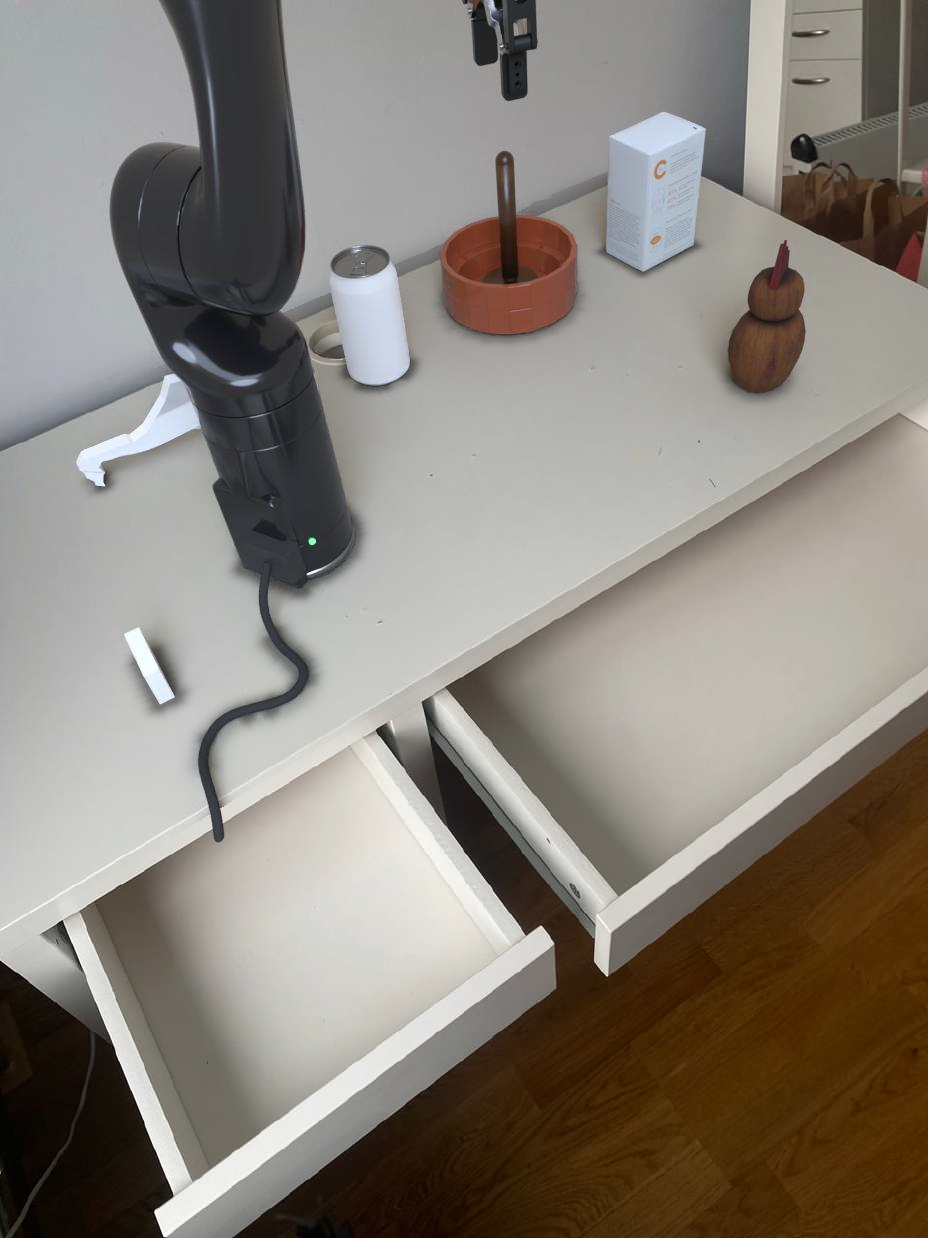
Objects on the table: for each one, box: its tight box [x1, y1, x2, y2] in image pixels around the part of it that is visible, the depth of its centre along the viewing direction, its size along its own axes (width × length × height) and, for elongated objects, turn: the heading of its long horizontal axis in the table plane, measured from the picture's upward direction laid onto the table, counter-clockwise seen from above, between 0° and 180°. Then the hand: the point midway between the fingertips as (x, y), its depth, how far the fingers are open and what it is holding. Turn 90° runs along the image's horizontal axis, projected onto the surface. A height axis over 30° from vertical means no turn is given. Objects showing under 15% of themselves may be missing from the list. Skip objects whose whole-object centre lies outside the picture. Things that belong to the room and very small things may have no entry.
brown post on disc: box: [483, 150, 538, 284], centre depth 96 cm, size 6×6×15 cm
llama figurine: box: [75, 373, 201, 487], centre depth 89 cm, size 2×11×18 cm
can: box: [328, 244, 411, 387], centre depth 92 cm, size 6×6×12 cm
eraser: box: [123, 627, 176, 705], centre depth 72 cm, size 1×5×4 cm, turn 31°
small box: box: [605, 111, 707, 273], centre depth 102 cm, size 8×6×13 cm
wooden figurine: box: [727, 239, 807, 394], centre depth 85 cm, size 7×6×15 cm
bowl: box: [439, 214, 579, 335], centre depth 100 cm, size 14×14×6 cm
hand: (500, 80), depth 85 cm, fingers open, 8 cm apart
